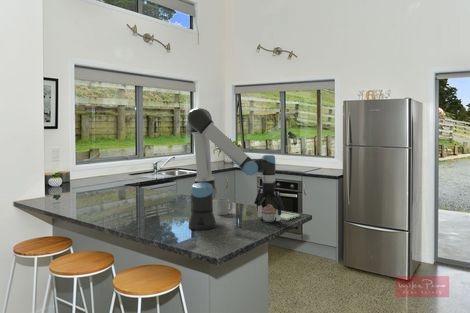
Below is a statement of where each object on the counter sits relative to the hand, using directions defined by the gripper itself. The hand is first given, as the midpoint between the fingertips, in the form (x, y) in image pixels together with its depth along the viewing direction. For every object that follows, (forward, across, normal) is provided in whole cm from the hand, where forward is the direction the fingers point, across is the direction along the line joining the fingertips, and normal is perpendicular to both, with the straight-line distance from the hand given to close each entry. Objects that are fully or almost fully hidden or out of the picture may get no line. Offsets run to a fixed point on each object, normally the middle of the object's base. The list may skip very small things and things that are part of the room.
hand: (268, 218), depth 225 cm
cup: (+2, +32, +4) cm, 32 cm away
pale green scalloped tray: (+1, -1, -13) cm, 13 cm away
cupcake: (+2, 0, 0) cm, 2 cm away
